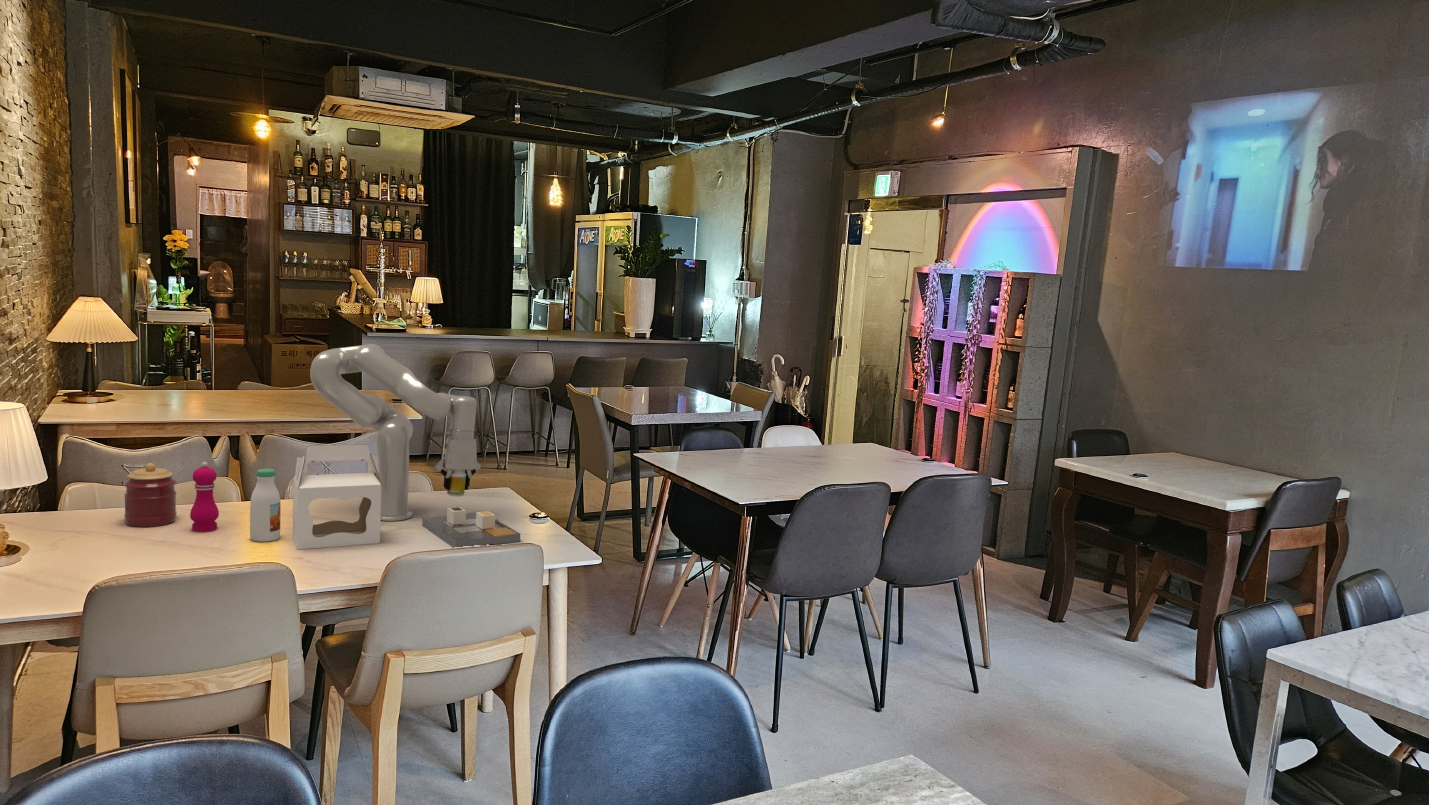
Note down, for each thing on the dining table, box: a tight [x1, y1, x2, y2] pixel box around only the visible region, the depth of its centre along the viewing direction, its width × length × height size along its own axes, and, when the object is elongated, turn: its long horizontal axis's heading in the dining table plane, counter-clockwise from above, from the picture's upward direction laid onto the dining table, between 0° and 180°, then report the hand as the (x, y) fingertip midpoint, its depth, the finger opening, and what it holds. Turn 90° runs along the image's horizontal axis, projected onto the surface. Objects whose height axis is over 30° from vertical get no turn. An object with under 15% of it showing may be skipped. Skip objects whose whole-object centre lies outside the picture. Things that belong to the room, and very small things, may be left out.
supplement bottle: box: [446, 470, 466, 497], centre depth 286 cm, size 5×5×10 cm
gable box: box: [292, 443, 382, 551], centre depth 253 cm, size 22×13×28 cm, turn 120°
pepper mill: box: [189, 461, 220, 533], centre depth 255 cm, size 7×7×20 cm
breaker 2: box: [475, 510, 496, 529], centre depth 269 cm, size 4×5×4 cm
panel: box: [421, 512, 521, 548], centre depth 271 cm, size 20×28×3 cm
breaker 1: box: [446, 506, 467, 525], centre depth 271 cm, size 4×5×4 cm
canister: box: [123, 462, 177, 528], centre depth 259 cm, size 13×13×18 cm
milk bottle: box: [249, 468, 281, 543], centre depth 250 cm, size 8×8×20 cm
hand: (456, 488), depth 287 cm, fingers closed on supplement bottle, 5 cm apart
